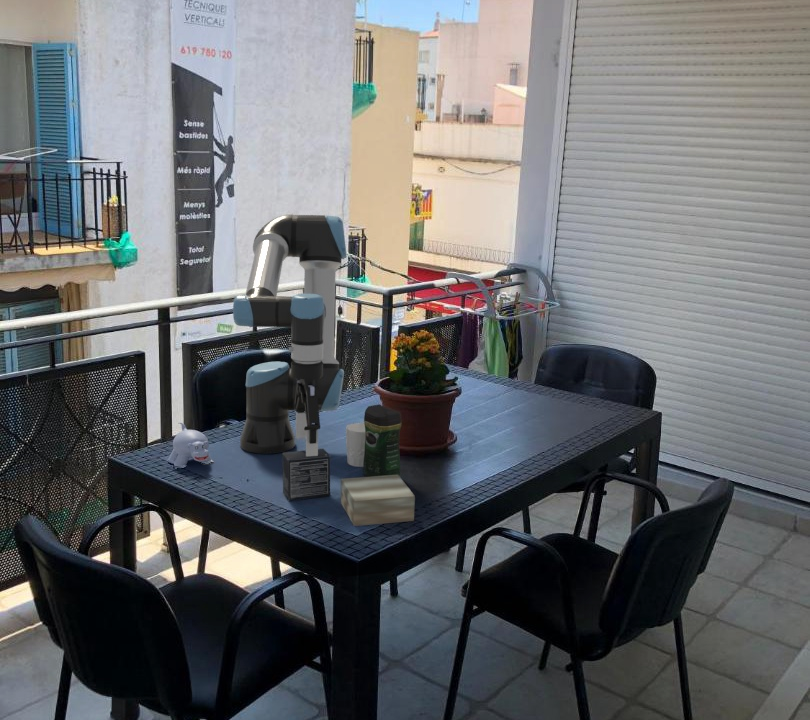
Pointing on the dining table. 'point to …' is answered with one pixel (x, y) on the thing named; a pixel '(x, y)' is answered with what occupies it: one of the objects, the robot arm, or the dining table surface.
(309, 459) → the small box
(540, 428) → the dining table surface
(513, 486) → the dining table surface
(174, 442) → the hippopotamus toy
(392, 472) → the coffee jar
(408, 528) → the dining table surface
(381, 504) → the plinth
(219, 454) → the dining table surface
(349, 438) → the white cup
